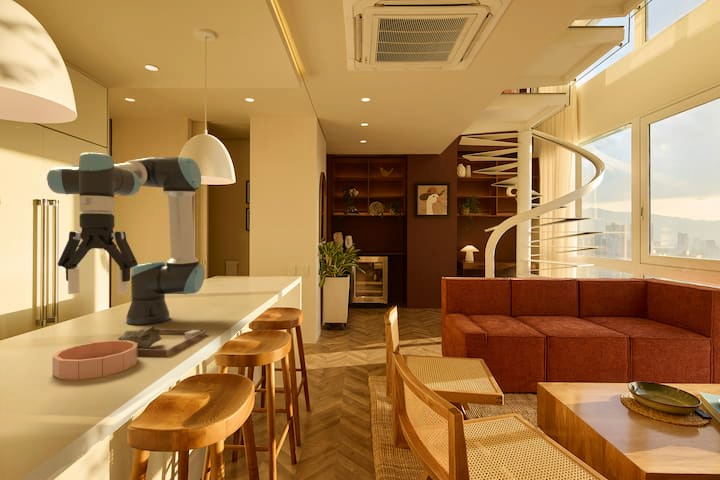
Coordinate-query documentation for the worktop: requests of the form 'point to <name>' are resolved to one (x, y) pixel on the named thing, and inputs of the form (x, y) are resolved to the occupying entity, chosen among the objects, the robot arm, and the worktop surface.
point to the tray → (175, 348)
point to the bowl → (94, 359)
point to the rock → (142, 337)
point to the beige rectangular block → (191, 333)
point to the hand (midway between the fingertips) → (98, 293)
